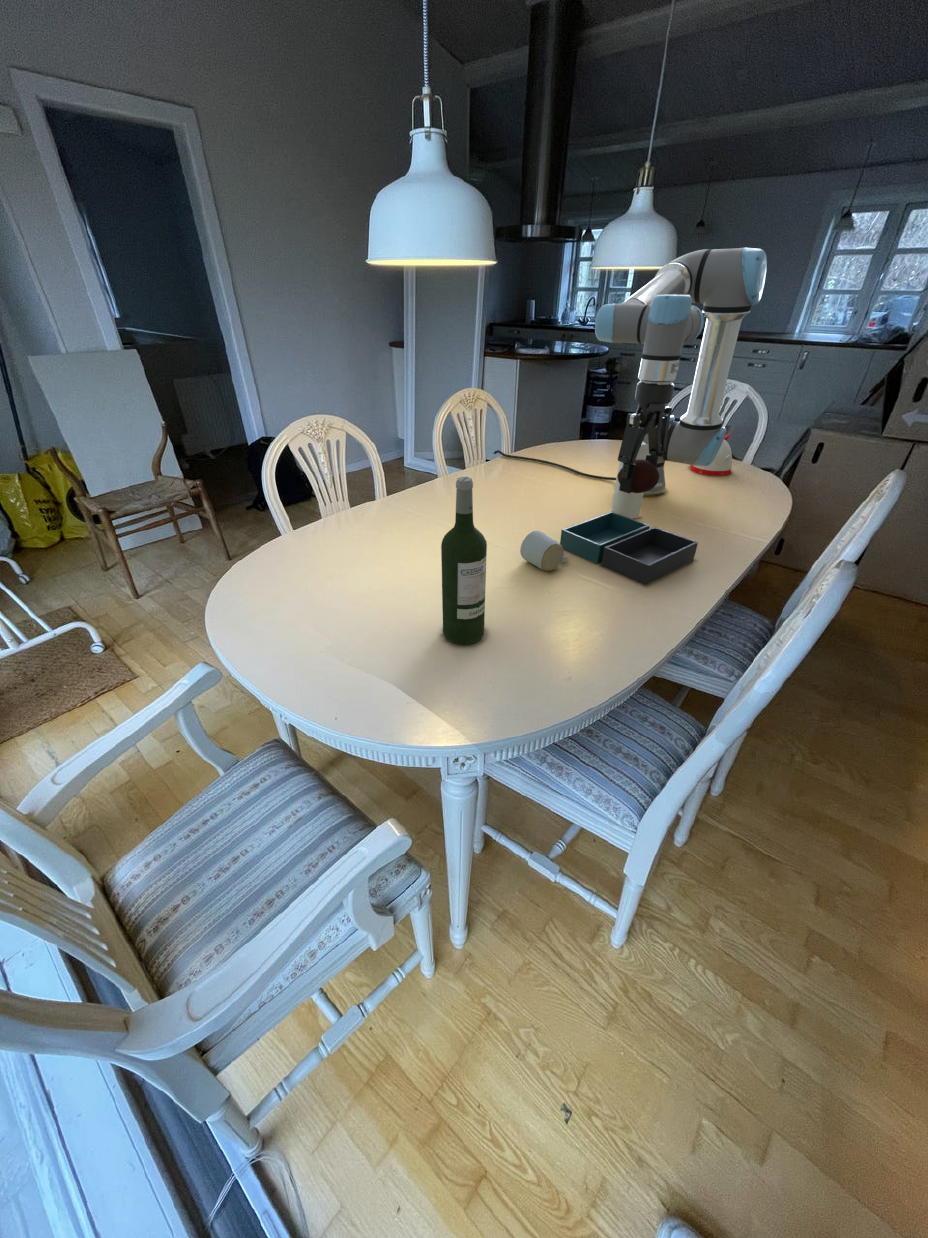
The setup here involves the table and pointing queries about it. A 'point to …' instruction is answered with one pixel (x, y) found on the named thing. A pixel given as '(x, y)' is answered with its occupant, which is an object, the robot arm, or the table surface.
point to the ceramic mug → (542, 551)
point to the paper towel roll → (629, 501)
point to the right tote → (649, 555)
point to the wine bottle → (463, 572)
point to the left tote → (599, 535)
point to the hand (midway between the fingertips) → (636, 487)
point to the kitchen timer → (718, 462)
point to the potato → (643, 476)
